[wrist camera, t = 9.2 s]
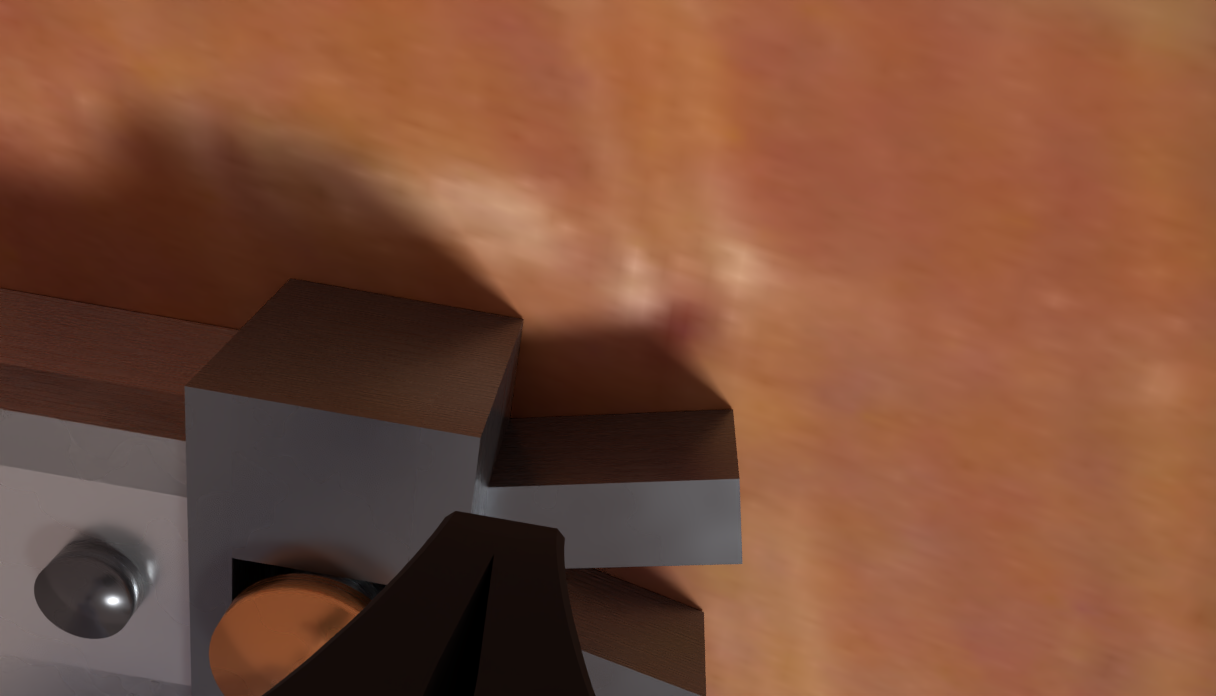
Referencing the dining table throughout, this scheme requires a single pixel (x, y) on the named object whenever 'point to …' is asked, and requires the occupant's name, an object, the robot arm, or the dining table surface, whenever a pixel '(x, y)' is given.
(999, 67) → the dining table surface
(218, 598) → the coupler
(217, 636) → the pin
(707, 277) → the dining table surface
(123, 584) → the block
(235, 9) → the dining table surface
